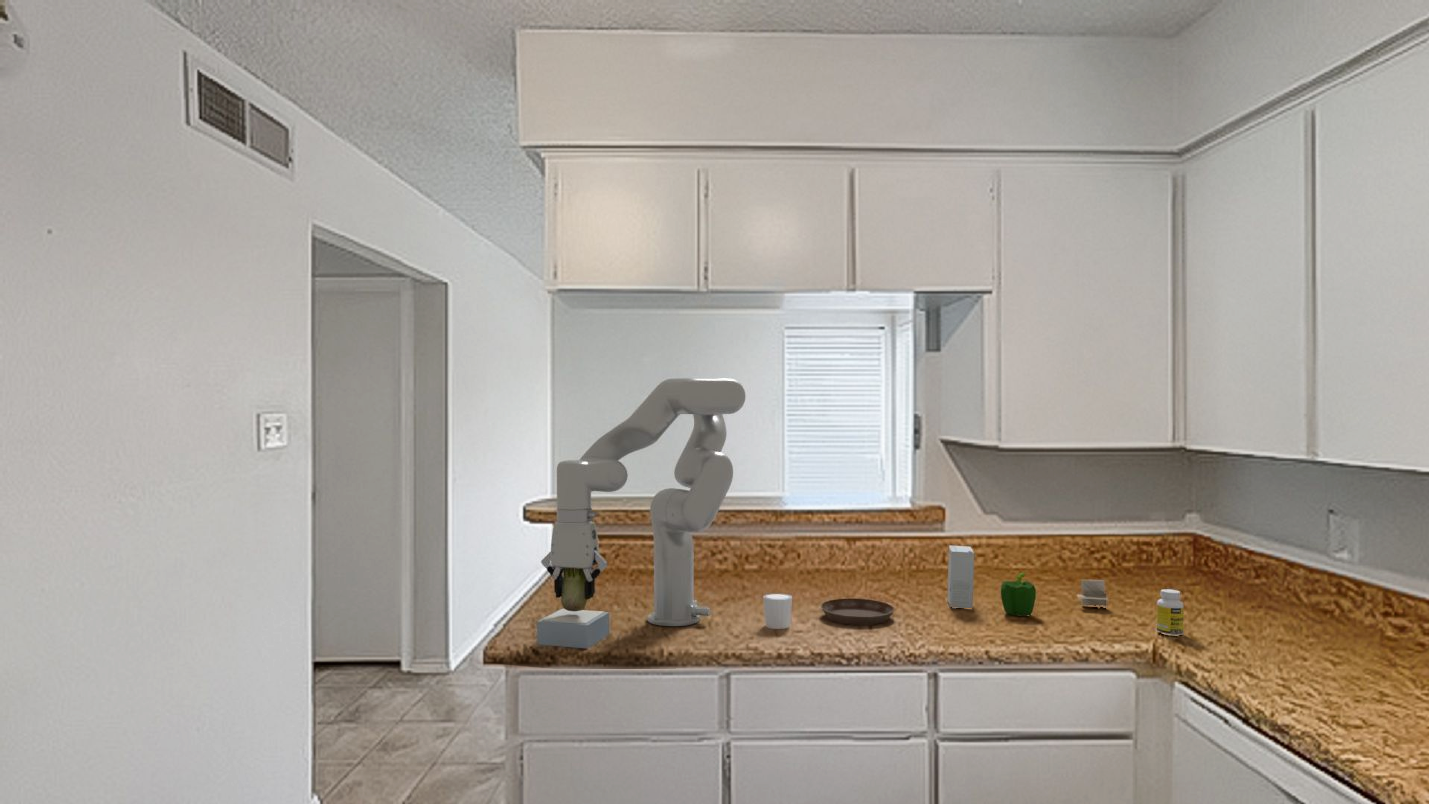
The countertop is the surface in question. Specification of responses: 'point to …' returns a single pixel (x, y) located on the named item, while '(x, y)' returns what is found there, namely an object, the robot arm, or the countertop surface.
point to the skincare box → (960, 576)
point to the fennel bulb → (573, 590)
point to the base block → (573, 628)
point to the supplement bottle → (1170, 612)
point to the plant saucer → (857, 611)
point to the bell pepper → (1018, 596)
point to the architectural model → (1093, 593)
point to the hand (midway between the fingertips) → (574, 596)
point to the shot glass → (777, 610)
